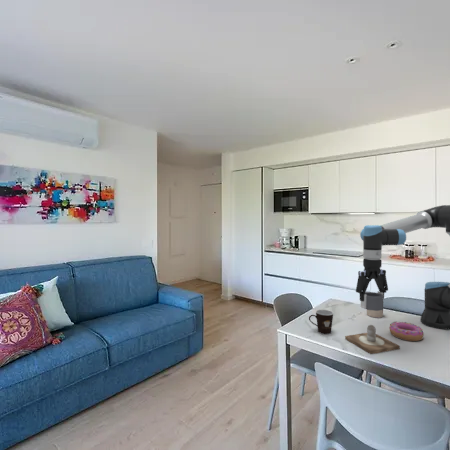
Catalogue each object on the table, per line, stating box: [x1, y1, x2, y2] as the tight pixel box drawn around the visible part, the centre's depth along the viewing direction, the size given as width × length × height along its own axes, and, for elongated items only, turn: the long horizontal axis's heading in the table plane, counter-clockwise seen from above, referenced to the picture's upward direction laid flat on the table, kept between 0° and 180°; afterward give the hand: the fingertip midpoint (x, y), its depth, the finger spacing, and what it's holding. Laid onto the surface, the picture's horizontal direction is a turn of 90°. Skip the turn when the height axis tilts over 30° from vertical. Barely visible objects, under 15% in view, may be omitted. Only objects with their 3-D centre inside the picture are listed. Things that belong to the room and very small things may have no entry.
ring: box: [365, 291, 384, 311], centre depth 132 cm, size 9×9×6 cm
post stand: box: [344, 324, 401, 355], centre depth 133 cm, size 16×16×9 cm
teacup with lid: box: [366, 301, 385, 319], centre depth 171 cm, size 12×9×12 cm
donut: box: [389, 321, 424, 342], centre depth 141 cm, size 14×14×5 cm
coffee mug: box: [308, 309, 334, 335], centre depth 148 cm, size 12×9×10 cm
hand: (371, 306), depth 132 cm, fingers closed on ring, 9 cm apart
